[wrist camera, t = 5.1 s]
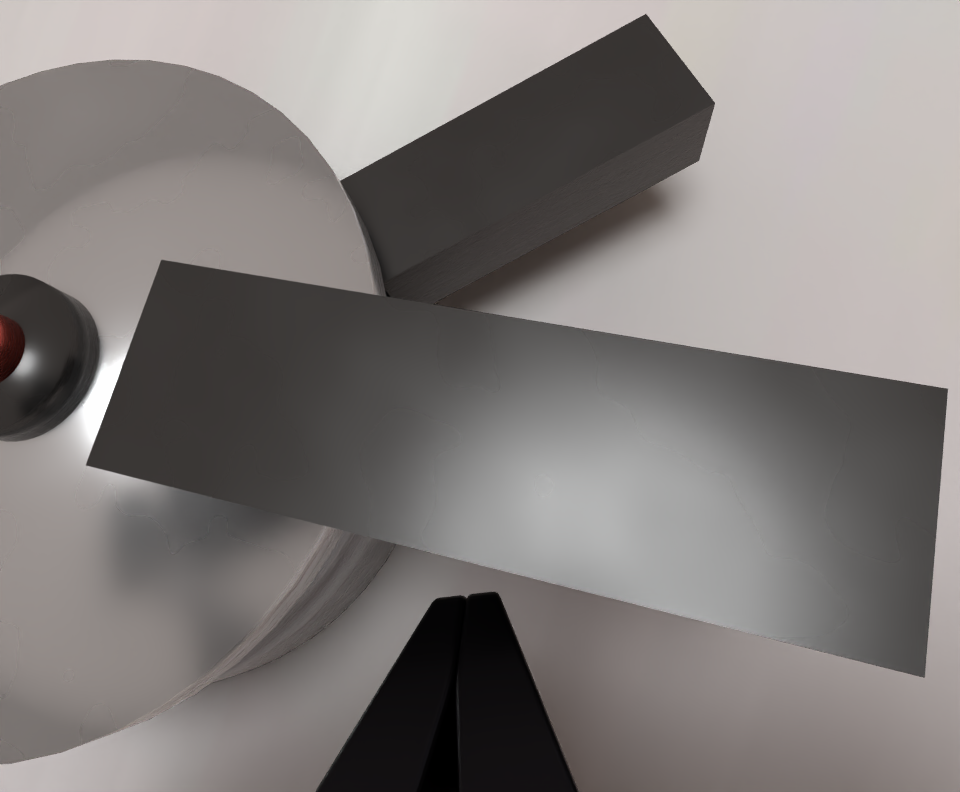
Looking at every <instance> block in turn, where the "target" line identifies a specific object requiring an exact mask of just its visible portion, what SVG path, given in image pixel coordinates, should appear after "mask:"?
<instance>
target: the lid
mask: <svg viewBox="0 0 960 792" xmlns="http://www.w3.org/2000/svg"><path fill="white" fill-rule="evenodd" d="M947 393H948V389H945V388H939V387H933V386H927V385H921V384H915V383H909V382H903V381H897V380H891V379H884V378H878V377H872V376H866V375H860V374H854V373H848V372H842V371H836V370H830V369H824V368H818V367H811V366H805V365H799V364H793V363H787V362H781V361H775V360H769V359H763V358H757V357H751V356H745V355H739V354H732V353H726V352H720V351H714V350H708V349H702V348H696V347H690V346H684V345H678V344H672V343H666V342H659V341H653V340H647V339H641V338H635V337H629V336H623V335H617V334H611V333H605V332H599V331H593V330H586V329H580V328H574V327H568V326H562V325H556V324H550V323H544V322H538V321H532V320H526V319H520V318H513V317H507V316H501V315H495V314H489V313H483V312H477V311H471V310H465V309H459V308H453V307H447V306H440V305H434V304H428V303H422V302H416V301H410V300H404V299H398V298H392V297H386V293H385V288H384V283H383V278H382V273H381V268H380V264H379V261H378V259H377V256H376V253H375V250H374V247H373V245H372V242H371V239H370V236H369V233H368V230H367V228H366V226H365V224H364V222H363V221H362V219H361V217H360V215H359V213H358V211H357V209H356V208H355V206H354V204H353V202H352V200H351V198H350V196H349V195H348V193H347V192H346V190H345V189H344V187H343V186H342V184H341V182H340V181H339V179H338V178H337V176H336V175H335V173H334V172H333V170H332V169H331V167H330V166H329V165H328V163H327V162H326V161H325V159H324V158H323V157H322V156H321V154H320V153H319V152H318V150H317V149H316V148H315V146H314V145H313V144H312V142H311V141H310V140H309V138H308V137H307V136H306V135H305V134H304V133H303V132H302V131H300V130H299V129H298V128H297V127H296V126H295V125H294V124H293V123H292V122H291V121H290V120H289V119H288V118H287V117H286V116H285V115H284V114H283V113H282V112H280V111H279V110H277V109H276V108H274V107H273V106H272V105H270V104H269V103H267V102H266V101H264V100H263V99H261V98H260V97H258V96H257V95H256V94H254V93H253V92H251V91H249V90H247V89H245V88H243V87H241V86H239V85H236V84H234V83H232V82H230V81H228V80H226V79H224V78H222V77H220V76H217V75H213V74H210V73H207V72H204V71H200V70H197V69H194V68H190V67H187V66H182V65H176V64H170V63H163V62H157V61H150V60H106V61H97V62H87V63H77V64H73V65H68V66H64V67H59V68H55V69H51V70H46V71H42V72H38V73H35V74H32V75H30V76H27V77H24V78H21V79H18V80H15V81H12V82H9V83H6V84H3V85H1V86H0V764H11V763H16V762H20V761H25V760H29V759H34V758H38V757H43V756H48V755H52V754H57V753H61V752H64V751H67V750H69V749H72V748H75V747H77V746H80V745H83V744H86V743H88V742H91V741H94V740H96V739H99V738H102V737H105V736H107V735H110V734H112V733H115V732H118V731H120V730H123V729H125V728H128V727H131V726H133V725H136V724H138V723H141V722H144V721H146V720H149V719H151V718H153V717H155V716H157V715H158V714H160V713H162V712H164V711H166V710H168V709H169V708H171V707H173V706H175V705H177V704H178V703H180V702H182V701H184V700H186V699H187V698H189V697H191V696H193V695H195V694H196V693H198V692H199V691H200V690H202V689H203V688H204V687H206V686H207V685H208V684H210V683H211V682H213V681H214V680H215V679H217V678H218V677H219V676H221V675H222V674H223V673H225V672H226V671H227V670H229V669H230V668H231V667H233V666H234V665H236V664H237V663H238V662H239V661H240V660H241V659H242V658H243V657H244V656H245V655H247V654H248V653H249V652H250V651H251V650H252V649H253V648H254V647H255V646H256V645H257V644H258V643H259V642H260V641H261V640H262V639H263V638H264V637H265V636H266V635H268V634H269V633H270V632H271V631H272V630H273V629H274V628H275V627H276V626H277V625H278V623H279V622H280V621H281V620H282V619H283V617H284V616H285V615H286V614H287V612H288V611H289V610H290V609H291V608H292V606H293V605H294V604H295V603H296V602H297V600H298V599H299V598H300V597H301V595H302V594H303V593H304V592H305V591H306V589H307V588H308V587H309V586H310V584H311V583H312V581H313V580H314V578H315V577H316V575H317V573H318V572H319V570H320V569H321V567H322V566H323V564H324V562H325V561H326V559H327V558H328V556H329V555H330V553H331V551H332V550H333V548H334V547H335V545H336V544H337V542H338V540H339V539H340V536H341V534H342V532H343V531H347V532H351V533H355V534H359V535H363V536H367V537H370V538H374V539H378V540H382V541H386V542H390V543H394V544H398V545H402V546H406V547H410V548H414V549H418V550H422V551H426V552H430V553H434V554H438V555H442V556H446V557H450V558H453V559H457V560H461V561H465V562H469V563H473V564H477V565H481V566H485V567H489V568H493V569H497V570H501V571H505V572H509V573H513V574H517V575H521V576H525V577H529V578H533V579H536V580H540V581H544V582H548V583H552V584H556V585H560V586H564V587H568V588H572V589H576V590H580V591H584V592H588V593H592V594H596V595H600V596H604V597H608V598H612V599H616V600H619V601H623V602H627V603H631V604H635V605H639V606H643V607H647V608H651V609H655V610H659V611H663V612H667V613H671V614H675V615H679V616H683V617H687V618H691V619H695V620H698V621H702V622H706V623H710V624H714V625H718V626H722V627H726V628H730V629H734V630H738V631H742V632H746V633H750V634H754V635H758V636H762V637H766V638H770V639H774V640H778V641H781V642H785V643H789V644H793V645H797V646H801V647H805V648H809V649H813V650H817V651H821V652H825V653H829V654H833V655H837V656H841V657H845V658H849V659H853V660H857V661H861V662H864V663H868V664H872V665H876V666H880V667H884V668H888V669H892V670H896V671H900V672H904V673H908V674H912V675H916V676H920V677H924V678H925V666H926V654H927V641H928V629H929V616H930V604H931V592H932V579H933V567H934V554H935V542H936V530H937V517H938V505H939V492H940V480H941V468H942V455H943V443H944V430H945V418H946V406H947Z"/></svg>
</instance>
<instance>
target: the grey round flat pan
mask: <svg viewBox="0 0 960 792" xmlns="http://www.w3.org/2000/svg"><path fill="white" fill-rule="evenodd" d="M714 105H715V102H714V101H713V100H712V99H711V97H710V96H709V95H708V93H707V92H706V91H705V90H704V88H703V87H702V86H701V84H700V83H699V82H698V80H697V79H696V78H695V77H694V75H693V74H692V73H691V71H690V70H689V69H688V68H687V66H686V65H685V64H684V62H683V61H682V60H681V59H680V57H679V56H678V55H677V53H676V52H675V51H674V49H673V48H672V47H671V46H670V44H669V43H668V42H667V40H666V39H665V38H664V37H663V35H662V34H661V33H660V31H659V30H658V29H657V27H656V26H655V25H654V24H653V22H652V21H651V20H650V18H649V17H648V16H647V15H646V14H645V15H643V16H641V17H640V18H638V19H636V20H634V21H632V22H630V23H629V24H627V25H625V26H623V27H621V28H619V29H618V30H616V31H614V32H612V33H610V34H608V35H607V36H605V37H603V38H601V39H599V40H597V41H596V42H594V43H592V44H590V45H588V46H586V47H585V48H583V49H581V50H579V51H577V52H576V53H574V54H572V55H570V56H568V57H566V58H565V59H563V60H561V61H559V62H557V63H555V64H554V65H552V66H550V67H548V68H546V69H544V70H543V71H541V72H539V73H537V74H535V75H533V76H532V77H530V78H528V79H526V80H524V81H522V82H521V83H519V84H517V85H515V86H513V87H511V88H510V89H508V90H506V91H504V92H502V93H501V94H499V95H497V96H495V97H493V98H491V99H490V100H488V101H486V102H484V103H482V104H480V105H479V106H477V107H475V108H473V109H471V110H469V111H468V112H466V113H464V114H462V115H460V116H458V117H457V118H455V119H453V120H451V121H449V122H447V123H446V124H444V125H442V126H440V127H438V128H436V129H435V130H433V131H431V132H429V133H427V134H426V135H424V136H422V137H420V138H418V139H416V140H415V141H413V142H411V143H409V144H407V145H405V146H404V147H402V148H400V149H398V150H396V151H394V152H393V153H391V154H389V155H387V156H385V157H383V158H382V159H380V160H378V161H376V162H374V163H372V164H371V165H369V166H367V167H365V168H363V169H361V170H360V171H358V172H356V173H354V174H352V175H351V176H349V177H347V178H345V179H343V180H341V181H340V182H341V184H342V186H343V187H344V189H345V190H346V192H347V193H348V195H349V196H350V198H351V200H352V202H353V204H354V206H355V208H356V209H357V211H358V213H359V215H360V217H361V219H362V221H363V222H364V224H365V226H366V228H367V230H368V233H369V236H370V239H371V242H372V245H373V247H374V250H375V253H376V256H377V259H378V261H379V264H380V268H381V273H382V278H383V283H384V288H385V293H386V297H392V298H398V299H404V300H410V301H416V302H422V303H428V304H433V303H435V302H437V301H439V300H441V299H442V298H444V297H446V296H448V295H450V294H452V293H454V292H455V291H457V290H459V289H461V288H463V287H465V286H467V285H469V284H470V283H472V282H474V281H476V280H478V279H480V278H482V277H483V276H485V275H487V274H489V273H491V272H493V271H495V270H496V269H498V268H500V267H502V266H504V265H506V264H508V263H509V262H511V261H513V260H515V259H517V258H519V257H521V256H522V255H524V254H526V253H528V252H530V251H532V250H534V249H535V248H537V247H539V246H541V245H543V244H545V243H547V242H549V241H550V240H552V239H554V238H556V237H558V236H560V235H562V234H563V233H565V232H567V231H569V230H571V229H573V228H575V227H576V226H578V225H580V224H582V223H584V222H586V221H588V220H589V219H591V218H593V217H595V216H597V215H599V214H601V213H602V212H604V211H606V210H608V209H610V208H612V207H614V206H615V205H617V204H619V203H621V202H623V201H625V200H627V199H629V198H630V197H632V196H634V195H636V194H638V193H640V192H642V191H643V190H645V189H647V188H649V187H651V186H653V185H655V184H656V183H658V182H660V181H662V180H664V179H666V178H668V177H669V176H671V175H673V174H675V173H677V172H679V171H681V170H682V169H684V168H686V167H688V166H690V165H692V164H694V163H696V162H697V161H699V159H700V155H701V152H702V148H703V144H704V141H705V137H706V134H707V130H708V127H709V123H710V120H711V116H712V112H713V109H714ZM394 546H395V544H394V543H390V542H386V541H382V540H378V539H374V538H370V537H367V536H363V535H359V534H355V533H351V532H347V531H343V532H342V534H341V536H340V539H339V540H338V542H337V544H336V545H335V547H334V548H333V550H332V551H331V553H330V555H329V556H328V558H327V559H326V561H325V562H324V564H323V566H322V567H321V569H320V570H319V572H318V573H317V575H316V577H315V578H314V580H313V581H312V583H311V584H310V586H309V587H308V588H307V589H306V591H305V592H304V593H303V594H302V595H301V597H300V598H299V599H298V600H297V602H296V603H295V604H294V605H293V606H292V608H291V609H290V610H289V611H288V612H287V614H286V615H285V616H284V617H283V619H282V620H281V621H280V622H279V623H278V625H277V626H276V627H275V628H274V629H273V630H272V631H271V632H270V633H269V634H268V635H266V636H265V637H264V638H263V639H262V640H261V641H260V642H259V643H258V644H257V645H256V646H255V647H254V648H253V649H252V650H251V651H250V652H249V653H248V654H247V655H245V656H244V657H243V658H242V659H241V660H240V661H239V662H238V663H237V664H236V665H234V666H233V667H231V668H230V669H229V670H227V671H226V672H225V673H223V674H222V675H221V676H219V677H218V678H217V679H215V680H214V681H213V682H216V681H219V680H222V679H225V678H228V677H231V676H234V675H237V674H240V673H243V672H246V671H249V670H252V669H254V668H256V667H259V666H261V665H263V664H266V663H268V662H270V661H272V660H275V659H277V658H279V657H281V656H283V655H285V654H286V653H288V652H290V651H291V650H293V649H295V648H296V647H298V646H299V645H301V644H303V643H304V642H306V641H308V640H309V639H311V638H312V637H314V636H315V635H316V634H317V633H319V632H320V631H321V630H322V629H323V628H325V627H326V626H327V625H328V624H330V623H331V622H332V621H333V620H335V619H336V618H337V617H338V616H340V615H341V613H342V612H343V611H344V610H345V609H346V608H347V607H348V606H349V605H350V604H351V603H352V602H353V601H354V600H355V599H356V598H357V597H358V596H359V595H360V594H361V593H362V592H363V591H364V589H365V588H366V587H367V586H368V584H369V583H370V581H371V580H372V579H373V577H374V576H375V575H376V573H377V572H378V571H379V569H380V568H381V567H382V565H383V564H384V563H385V561H386V560H387V558H388V556H389V555H390V553H391V551H392V549H393V548H394ZM213 682H211V683H213Z"/></svg>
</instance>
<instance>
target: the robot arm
mask: <svg viewBox="0 0 960 792" xmlns="http://www.w3.org/2000/svg"><path fill="white" fill-rule="evenodd" d="M316 792H579V791H578V788H577V786H576V783H575V781H574V778H573V776H572V773H571V771H570V768H569V766H568V763H567V761H566V758H565V756H564V753H563V751H562V749H561V746H560V744H559V741H558V739H557V736H556V734H555V731H554V729H553V726H552V724H551V721H550V719H549V716H548V714H547V711H546V709H545V706H544V704H543V702H542V699H541V697H540V694H539V692H538V689H537V687H536V684H535V682H534V679H533V677H532V674H531V672H530V669H529V667H528V664H527V662H526V659H525V657H524V655H523V652H522V650H521V647H520V645H519V642H518V640H517V637H516V635H515V632H514V630H513V627H512V625H511V622H510V620H509V617H508V615H507V612H506V610H505V608H504V605H503V603H502V600H501V598H500V596H499V594H498V593H497V592H486V593H477V594H471V595H469V596H468V598H466V597H464V596H461V595H459V596H451V597H442V598H437V599H436V600H434V601H433V602H432V604H431V605H430V607H429V608H428V610H427V612H426V613H425V615H424V616H423V618H422V620H421V621H420V623H419V625H418V626H417V628H416V629H415V631H414V633H413V634H412V636H411V638H410V639H409V641H408V642H407V644H406V646H405V647H404V649H403V651H402V652H401V654H400V655H399V657H398V659H397V660H396V662H395V663H394V665H393V667H392V668H391V670H390V672H389V673H388V675H387V676H386V678H385V680H384V681H383V683H382V685H381V686H380V688H379V689H378V691H377V693H376V694H375V696H374V698H373V699H372V701H371V702H370V704H369V706H368V707H367V709H366V711H365V712H364V714H363V715H362V717H361V719H360V720H359V722H358V723H357V725H356V727H355V728H354V730H353V732H352V733H351V735H350V736H349V738H348V740H347V741H346V743H345V745H344V746H343V748H342V749H341V751H340V753H339V754H338V756H337V758H336V759H335V761H334V762H333V764H332V766H331V767H330V769H329V771H328V772H327V774H326V775H325V777H324V779H323V780H322V782H321V783H320V785H319V787H318V788H317V790H316Z"/></svg>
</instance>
